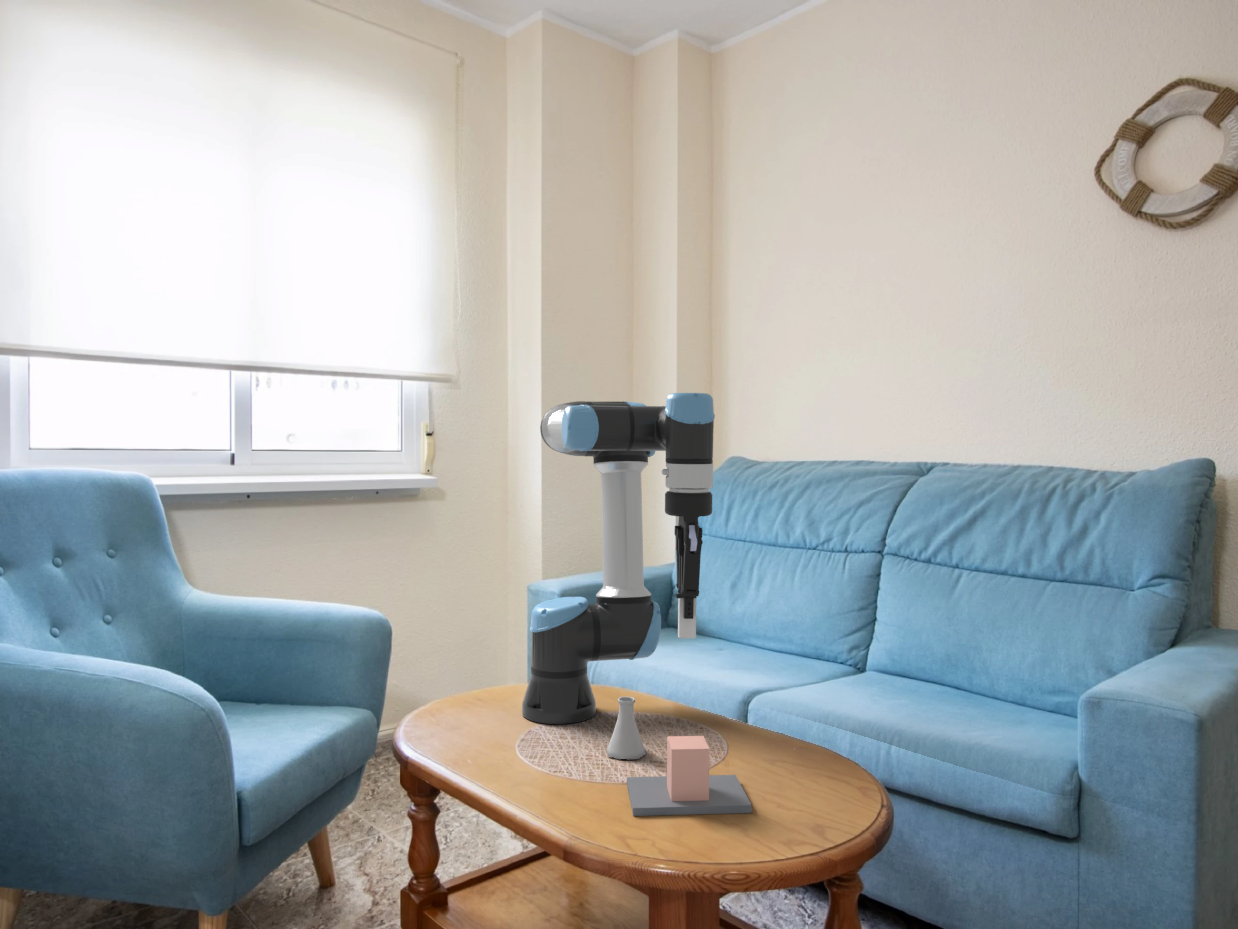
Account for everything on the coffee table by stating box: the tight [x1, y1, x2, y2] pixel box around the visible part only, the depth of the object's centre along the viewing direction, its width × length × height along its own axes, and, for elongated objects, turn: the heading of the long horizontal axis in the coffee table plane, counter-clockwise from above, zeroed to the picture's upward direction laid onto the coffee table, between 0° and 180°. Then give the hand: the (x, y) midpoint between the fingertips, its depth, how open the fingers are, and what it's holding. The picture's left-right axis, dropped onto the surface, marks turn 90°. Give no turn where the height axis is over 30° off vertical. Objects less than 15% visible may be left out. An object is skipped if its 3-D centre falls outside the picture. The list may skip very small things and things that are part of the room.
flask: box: [606, 696, 647, 760], centre depth 157 cm, size 7×7×10 cm
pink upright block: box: [666, 735, 710, 801], centre depth 136 cm, size 6×6×8 cm
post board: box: [626, 774, 753, 817], centre depth 137 cm, size 12×18×6 cm, turn 94°
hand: (686, 637), depth 140 cm, fingers closed
